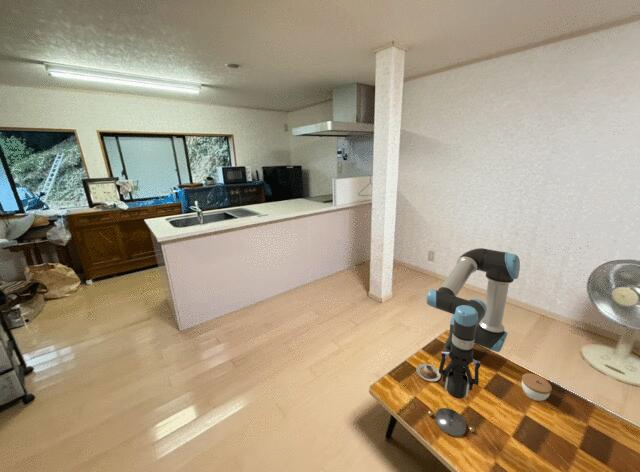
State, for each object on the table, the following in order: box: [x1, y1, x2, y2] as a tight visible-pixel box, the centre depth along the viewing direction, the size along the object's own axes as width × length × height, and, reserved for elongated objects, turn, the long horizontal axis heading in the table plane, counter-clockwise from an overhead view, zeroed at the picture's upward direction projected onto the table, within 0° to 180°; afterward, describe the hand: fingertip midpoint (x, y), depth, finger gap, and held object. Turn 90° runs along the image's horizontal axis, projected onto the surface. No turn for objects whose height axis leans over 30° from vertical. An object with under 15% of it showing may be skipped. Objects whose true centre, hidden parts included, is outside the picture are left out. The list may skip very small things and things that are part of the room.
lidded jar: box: [521, 372, 553, 402], centre depth 121 cm, size 11×11×9 cm
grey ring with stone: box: [415, 363, 442, 383], centre depth 137 cm, size 12×12×5 cm
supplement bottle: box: [446, 365, 468, 400], centre depth 105 cm, size 7×7×12 cm
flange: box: [427, 407, 475, 438], centre depth 111 cm, size 12×18×2 cm, turn 61°
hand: (455, 391), depth 106 cm, fingers closed on supplement bottle, 7 cm apart
